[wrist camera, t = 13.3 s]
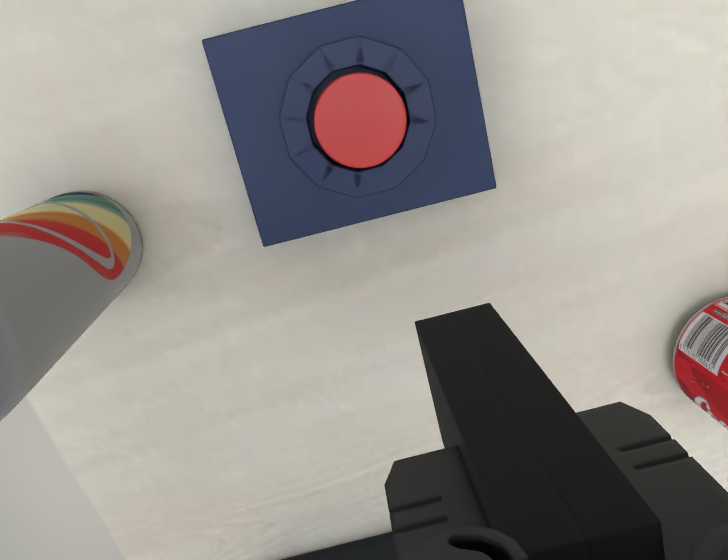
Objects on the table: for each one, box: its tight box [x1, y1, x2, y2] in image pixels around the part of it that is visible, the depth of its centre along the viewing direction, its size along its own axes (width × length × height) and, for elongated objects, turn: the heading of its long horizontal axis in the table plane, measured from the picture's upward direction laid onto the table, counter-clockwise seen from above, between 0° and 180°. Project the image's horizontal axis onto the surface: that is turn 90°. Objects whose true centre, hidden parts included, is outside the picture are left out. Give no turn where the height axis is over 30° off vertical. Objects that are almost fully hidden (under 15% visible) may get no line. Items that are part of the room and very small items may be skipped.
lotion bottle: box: [0, 191, 142, 421], centre depth 24 cm, size 6×6×20 cm
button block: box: [202, 0, 496, 247], centre depth 31 cm, size 12×10×4 cm
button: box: [314, 73, 407, 168], centre depth 29 cm, size 4×4×2 cm
